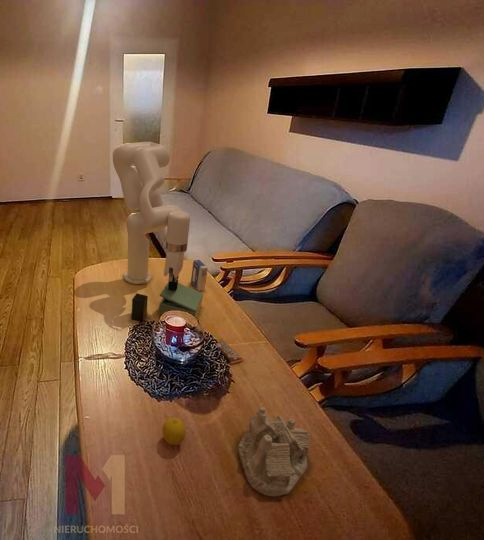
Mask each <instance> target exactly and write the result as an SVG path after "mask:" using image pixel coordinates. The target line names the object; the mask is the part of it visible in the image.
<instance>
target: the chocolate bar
mask: <svg viewBox="0 0 484 540" xmlns="http://www.w3.org/2000/svg"><path fill="white" fill-rule="evenodd" d="M216 344H217V345H216V346H215V347H216V348H217V349H218V350H219V351H220V352H221V353H222V354H223V357H224V358H225V359H226V360H227V361H228V362H229V364H231V365H232V364H236V363H239V362H242V361H243V362H244V359H243V358H242V357H241V356H240V355H238V353H237V352H236V351H234V349H232V348H231V347H230V346H229V345H228V344H227V343H226V342H225V341H221V342H218V343H216Z"/></svg>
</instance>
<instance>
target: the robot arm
mask: <svg viewBox="0 0 484 540" xmlns="http://www.w3.org/2000/svg"><path fill="white" fill-rule="evenodd" d="M170 158H171V157H170V152H169V150H168V148H166V146H165V145H163V144H159V143H156V142H153V141H140V142H129V143H128V142H127V143H122V144H119V145H117V146H116V147H115V148H114V149H113V152H112V163H113V167H114V170H115V172H116V174H117V177H118V179H119V182H120V185H121V190H122V195H123V200H124V204H125V207H126V208H127V209H128V210H130V211H135V210H139V211H138V212H132V213H131V214H129V215H128V216H127V217H126V220H125V225H126V231H127V268H126V269H127V271H126V272H125V273H124V274H123V279H124V281H126V282H127V283H130V284H133V285H143V284H145V283H148V282H150V280H151V279H152V274H151V273H150V272H149V266H150V264H149V261H150V248H151V247H150V245H151V244H150V241H149V239H148V237H146V235H147V234H150V233H156V232H157V233H158V232H161V231H163V230H164V229H165V228H166V240H165V251H166V255H165V260H164V269H163V276H164V277H167V276H168V279H167V283H168V281H169V283H168V289H169V290H173V291H176V290H177V286H178V283H179V275H180V273H181V271H182V270H183V267H184V259H185V253H186V252H187V251H188V245H189V243H188V242H189V235H190V223H191V215H190V214H189V213H188V212H186V211H183V210H182V208H181V207H180V206H179V205H176V204H170V205H169V204H168V205H164V202H163V197H162V194H161V191H160V188H161V187H162V186H163V185H164V183H165V177H164V174H163V172H162V169H161V168H165V167H167V166H168V165H169V163H170ZM131 165H134V167H135V168H134V167H133V166H131Z"/></svg>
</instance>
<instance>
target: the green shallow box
mask: <svg viewBox="0 0 484 540" xmlns="http://www.w3.org/2000/svg"><path fill="white" fill-rule="evenodd" d="M203 297H204V295H203V296H202V298H201V300H200V303H199V305H198V307H197V310H196V312H194V311H192V310H190V309H187V308H185V307H183V306H181V305H179V304H176V303H174V302H172V301H170V300H167V299H165V298H163V297H162V299H161V301H160V302H159V307H158V308H159V309H158V315H160V316H162V315H161V314H162V313H163V312H165V311H168V310H180V311H185V312H188V313H191V314H192V315H194V316H195V317H196V319H197V317H198V316H199V313H200V310H201V308H202V305H203Z"/></svg>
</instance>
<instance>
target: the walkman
mask: <svg viewBox="0 0 484 540" xmlns="http://www.w3.org/2000/svg"><path fill="white" fill-rule="evenodd" d="M208 269H209V267H208V266H207V265H206V264H205V263H203V261H201V260H200V259H195V260H194V259H193V263H192V271H191V279H190V285H192V287H194V288H196V289H197V291H198V292H200V291H205V290H206V283H207V277H208V276H207V275H208Z"/></svg>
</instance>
